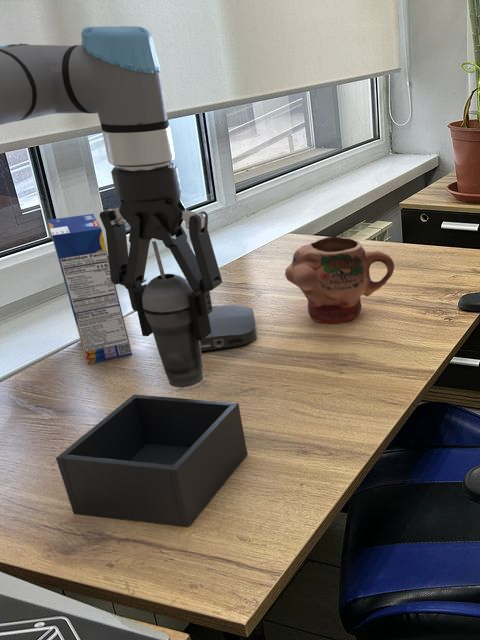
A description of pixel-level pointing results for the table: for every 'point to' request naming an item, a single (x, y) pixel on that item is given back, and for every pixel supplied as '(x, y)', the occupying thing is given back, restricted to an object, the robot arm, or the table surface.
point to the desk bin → (154, 460)
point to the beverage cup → (173, 326)
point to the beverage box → (90, 287)
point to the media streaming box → (229, 327)
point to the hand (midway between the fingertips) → (177, 334)
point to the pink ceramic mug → (335, 277)
